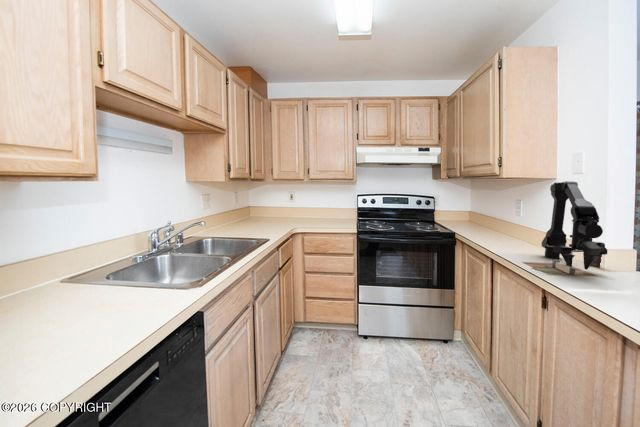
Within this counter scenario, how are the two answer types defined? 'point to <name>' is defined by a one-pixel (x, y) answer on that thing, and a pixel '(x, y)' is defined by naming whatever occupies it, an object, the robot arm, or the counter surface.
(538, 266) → the dial board
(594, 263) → the box
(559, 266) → the dial lever
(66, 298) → the counter surface
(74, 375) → the counter surface
